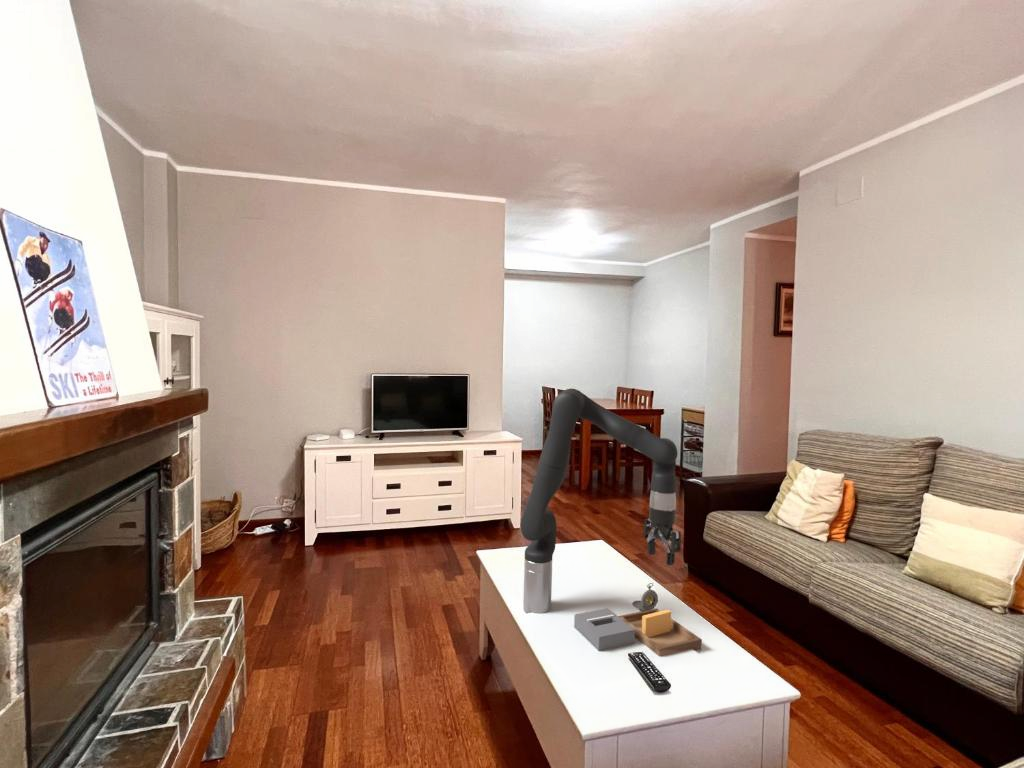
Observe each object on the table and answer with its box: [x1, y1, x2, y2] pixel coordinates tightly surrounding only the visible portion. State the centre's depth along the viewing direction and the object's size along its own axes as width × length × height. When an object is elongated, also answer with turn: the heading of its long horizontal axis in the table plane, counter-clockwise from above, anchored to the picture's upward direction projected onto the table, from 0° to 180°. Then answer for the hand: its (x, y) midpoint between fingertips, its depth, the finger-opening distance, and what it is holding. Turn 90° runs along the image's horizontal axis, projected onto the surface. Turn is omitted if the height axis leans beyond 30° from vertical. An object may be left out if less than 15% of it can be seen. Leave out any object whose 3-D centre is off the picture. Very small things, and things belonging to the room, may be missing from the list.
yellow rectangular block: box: [642, 608, 672, 637], centre depth 153 cm, size 2×6×10 cm
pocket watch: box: [631, 582, 659, 612], centre depth 170 cm, size 8×8×10 cm
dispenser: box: [573, 607, 636, 652], centre depth 151 cm, size 14×12×5 cm
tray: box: [617, 608, 703, 657], centre depth 153 cm, size 20×15×3 cm
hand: (660, 559), depth 152 cm, fingers open, 8 cm apart
